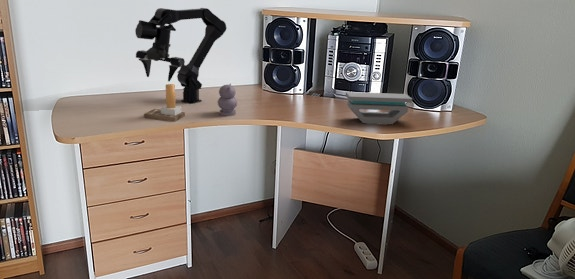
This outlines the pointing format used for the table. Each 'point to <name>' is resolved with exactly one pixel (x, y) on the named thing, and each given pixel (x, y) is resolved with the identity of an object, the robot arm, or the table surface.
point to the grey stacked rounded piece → (227, 100)
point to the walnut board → (163, 115)
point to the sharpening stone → (378, 106)
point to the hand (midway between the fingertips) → (158, 79)
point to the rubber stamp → (170, 102)
